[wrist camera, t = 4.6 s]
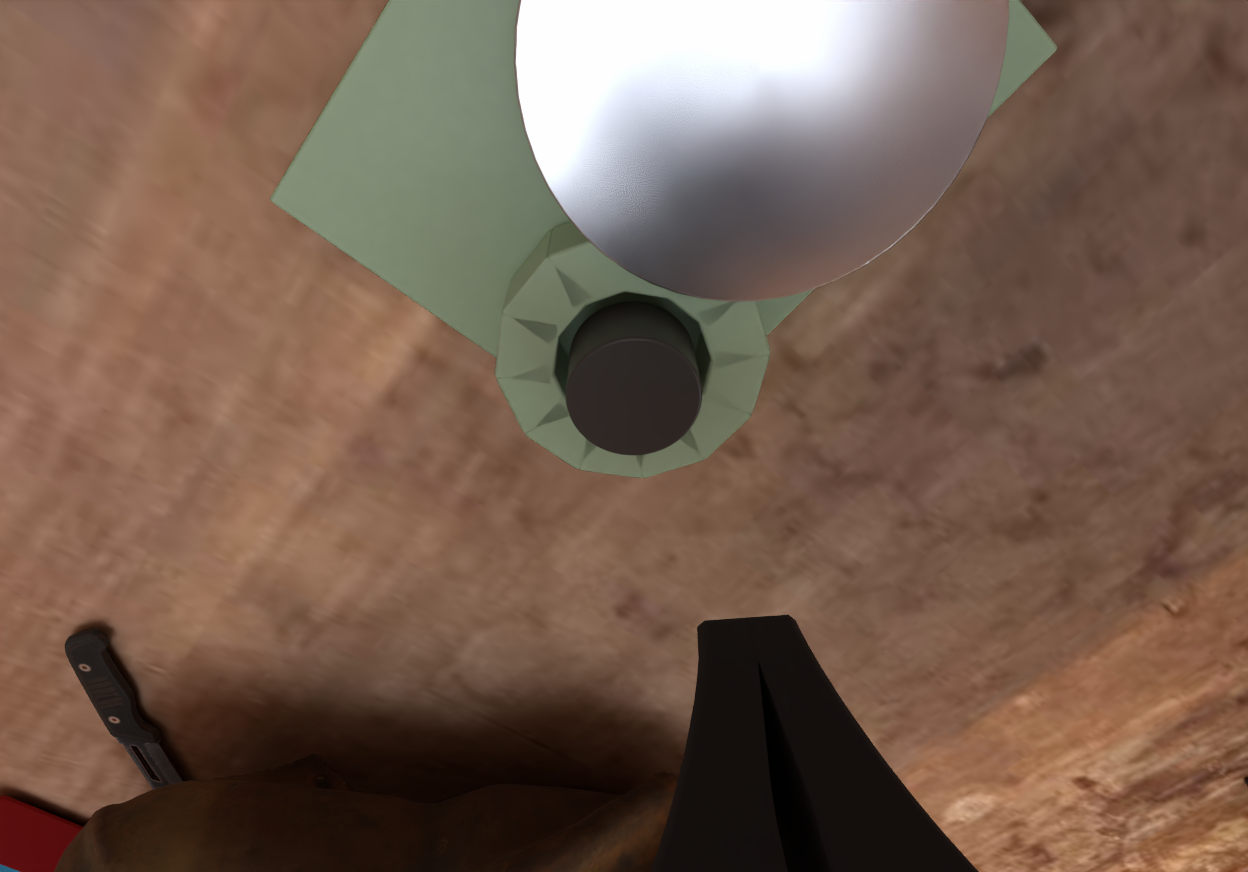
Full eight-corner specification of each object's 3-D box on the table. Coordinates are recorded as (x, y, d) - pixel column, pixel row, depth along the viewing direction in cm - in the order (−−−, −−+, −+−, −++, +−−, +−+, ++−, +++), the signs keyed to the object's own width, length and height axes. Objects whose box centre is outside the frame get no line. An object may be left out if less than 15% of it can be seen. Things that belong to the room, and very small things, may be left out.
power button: (624, 274, 16) (625, 309, 14) (719, 350, 16) (730, 392, 15) (544, 366, 17) (537, 408, 15) (638, 432, 17) (641, 478, 16)
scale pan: (756, -406, 10) (762, -418, 10) (1098, 36, 13) (1111, 38, 13) (421, 102, 13) (416, 106, 13) (754, 369, 16) (758, 379, 16)
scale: (654, -419, 12) (667, -513, 10) (1038, 50, 16) (1120, 71, 13) (282, 194, 17) (226, 238, 15) (641, 446, 21) (645, 517, 18)
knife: (296, 909, 32) (225, 908, 32) (301, 897, 32) (231, 896, 32) (135, 636, 23) (40, 636, 23) (144, 624, 23) (50, 625, 24)
